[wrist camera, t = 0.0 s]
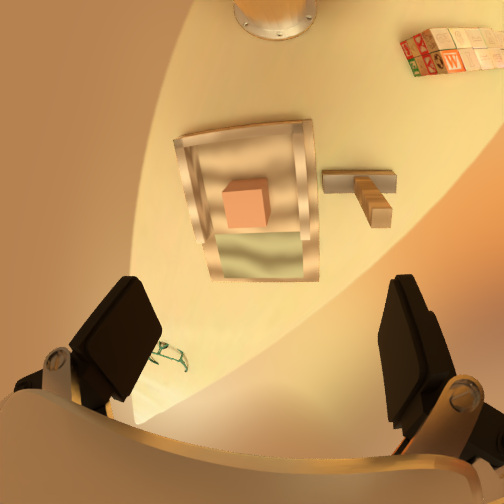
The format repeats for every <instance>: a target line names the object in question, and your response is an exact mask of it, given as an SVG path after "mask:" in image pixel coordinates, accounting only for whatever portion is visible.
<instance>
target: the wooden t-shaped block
mask: <svg viewBox="0 0 504 504" xmlns="http://www.w3.org/2000/svg"><path fill="white" fill-rule="evenodd" d="M322 180H323V191H324V194H328V193H355V195H356V197H357V199H358V201H359V203H360V205H361V207H362V209H363V211H364V213H365V215H366V218H367V220H368V222H369V224H370V226H371V228H391V218H392V207H391V206H390V205H389V203H388V202H387V200H386V199H385V198H384V196H383V195H382V194H381V193H396V184H397V175H396V174H395V173H394V172H393V171H391V170H323V171H322Z"/></svg>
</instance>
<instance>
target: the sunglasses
mask: <svg viewBox="0 0 504 504" xmlns="http://www.w3.org/2000/svg"><path fill="white" fill-rule="evenodd" d="M168 345H169V344H166V345H165V346H163V347H161V343H160V342H159V351H160V352H161V350H162V349H165V348H167V347H168ZM160 349H161V350H160ZM159 351H158V353H154V352H152V353H153V354H157V355H160V356H163V357H166V358H169V357H167V356H164V355H161V354H160V352H159ZM179 351H180V350H179ZM180 352H181V353H182V355H181V358H180V359H179V360H176V359H174V358H169V359H173V360H176V361H178V362H181V363H182V364H183V365H184V366H185V368H186V371H185V372H187V367H186V365H185V362H184V361H183V360H182V357H183V352H182V351H180ZM149 360H150V361H151V362H153V363H156V364H158V363H157V362H155V361H153V360H152V359H150V357H149ZM158 365H159V364H158Z"/></svg>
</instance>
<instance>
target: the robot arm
mask: <svg viewBox="0 0 504 504" xmlns="http://www.w3.org/2000/svg"><path fill="white" fill-rule="evenodd" d="M233 1H234V2H235V4H234V13H235V16H236V19H237V21H238V22H239V24H240V25H241V26H242V27H243V28H244V29H245V30H246V31H247V32H249V33H250V34H252V35H253V36H256V37H258V38H262V39H266V40H274V41H277V40H286V39H291V38H294V37H296V36H299V35H300V34H302V33H304V32H305V31H306V30H307V29H309V28H310V26H311V25H312V24H313V22H314V20H315V17H316V12H317V6H316V1H315V0H233ZM308 18H310V19H311V20H308ZM247 24H248V25H249V26H246V25H247ZM279 35H282V37H279ZM161 334H162V327H161V324H160V322H159V320H158V318H157V316H156V314H155V312H154V310H153V307H152V305H151V303H150V301H149V298H148V296H147V294H146V292H145V289H144V287H143V285H142V282H141V281H140V280H139V279H138V278H137V277H135V276H123V277H122V278H121V279H120V280H119V281H118V282H117V283H116V285H115V286H114V287H113V288H112V289H111V291H110V292H109V293H108V294H107V296H106V297H105V298H104V299H103V300H102V302H101V303H100V304H99V305H98V307H97V308H96V309H95V310H94V312H93V313H92V314H91V315H90V317H89V318H88V319H87V321H86V322H85V323H84V324H83V326H82V327H81V328H80V330H79V331H78V332H77V334H76V335H75V336H74V338H73V339H72V341H71V342H70V343H69V346H70V347H71V349H72V350H73V351H72V353H70V351H69V350H68V349H67V348H65V347H59V348H56V349H54V350H53V351H51V352H50V353H49V354H48V356H47V357H46V359H45V361H44V365H43V369H42V370H40V371H37V372H35V373H33V374H30V375H28V376H26V377H24V378H22V379H20V380H19V381H17V383H16V385H15V388H14V393H13V392H12V393H11V394H9V395H8V396H7V397H6V398H4V399H3V400H2V401H1V402H0V504H504V414H503V413H501V412H500V411H498V410H496V409H495V408H493V407H492V406H490V405H488V404H487V403H485V402H484V391H483V388H482V385H481V384H480V383H479V381H478V380H476V379H475V378H474V377H472V376H469V375H456V372H455V368H454V365H453V363H452V359H451V356H450V353H449V350H448V348H447V344H446V342H445V339H444V336H443V334H442V331H441V328H440V326H439V323H438V321H437V318H436V316H435V314H434V313H433V312H432V311H428V308H427V306H426V304H425V301H424V299H423V297H422V294H421V292H420V290H419V287H418V285H417V283H416V281H415V279H414V277H413V275H412V274H405V275H396V277H395V279H391V281H390V284H389V289H388V294H387V299H386V303H385V308H384V312H383V316H382V320H381V324H380V328H379V332H378V345H379V351H380V358H381V363H382V371H383V377H384V386H385V394H386V403H387V413H388V420H389V422H393V427H394V429H399V428H402V431H403V436H404V439H403V440H402V442H401V443H400V444H399V446H398V447H397V448H396V450H395V451H394V452H393V454H392V455H391V456H379V457H367V458H351V459H295V458H278V457H266V456H257V455H249V454H241V453H234V452H229V451H223V450H217V449H211V448H207V447H202V446H198V445H193V444H189V443H185V442H181V441H177V440H174V439H170V438H167V437H163V436H159V435H156V434H153V433H150V432H147V431H144V430H141V429H138V428H135V427H132V426H130V425H127V424H124V423H122V422H119V421H116V420H114V417H113V413H112V409H111V404H110V400H109V399H110V397H111V396H112V397H113V399H116V400H118V401H121V402H124V401H125V399H126V397H127V396H129V395H130V394H131V392H132V390H133V388H134V386H135V384H136V382H137V380H138V378H139V376H140V374H141V372H142V370H143V368H144V366H145V365H146V363H147V361H148V359H149V357H150V355H151V353H152V351H153V349H154V348H155V346H156V344H157V342H158V340H159V338H160V336H161ZM483 498H484V502H483Z"/></svg>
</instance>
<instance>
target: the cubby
mask: <svg viewBox="0 0 504 504" xmlns="http://www.w3.org/2000/svg"><path fill="white" fill-rule="evenodd" d="M173 141H174V146H175V151H176V156H177V161H178V166H179V170H180V175H181V179H182V184H183V188H184V193H185V197H186V201H187V206H188V210H189V214H190V218H191V222H192V226H193V230H194V234H195V238H196V242H197V243H202V246H203V250H204V253H205V257H206V261H207V265H208V269H209V273H210V277H211V280H212V282H319V224H318V197H317V177H316V162H315V148H314V137H313V126H312V120H296V121H282V122H270V123H260V124H251V125H243V126H235V127H228V128H222V129H215V130H209V131H204V132H198V133H193V134H188V135H183V136H179V137H178V138H177V139H174V140H173ZM258 178H267V182H268V190H269V198H270V207H271V213H270V217H269V220H268V223H267V226H266V227H252V228H230V229H228V224H227V219H226V214H225V208H224V203H223V198H222V191H223V190H224V189H225V188H226V187H227V185H228V184H229V183H230V182H231V181H234V180H245V179H258Z"/></svg>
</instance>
